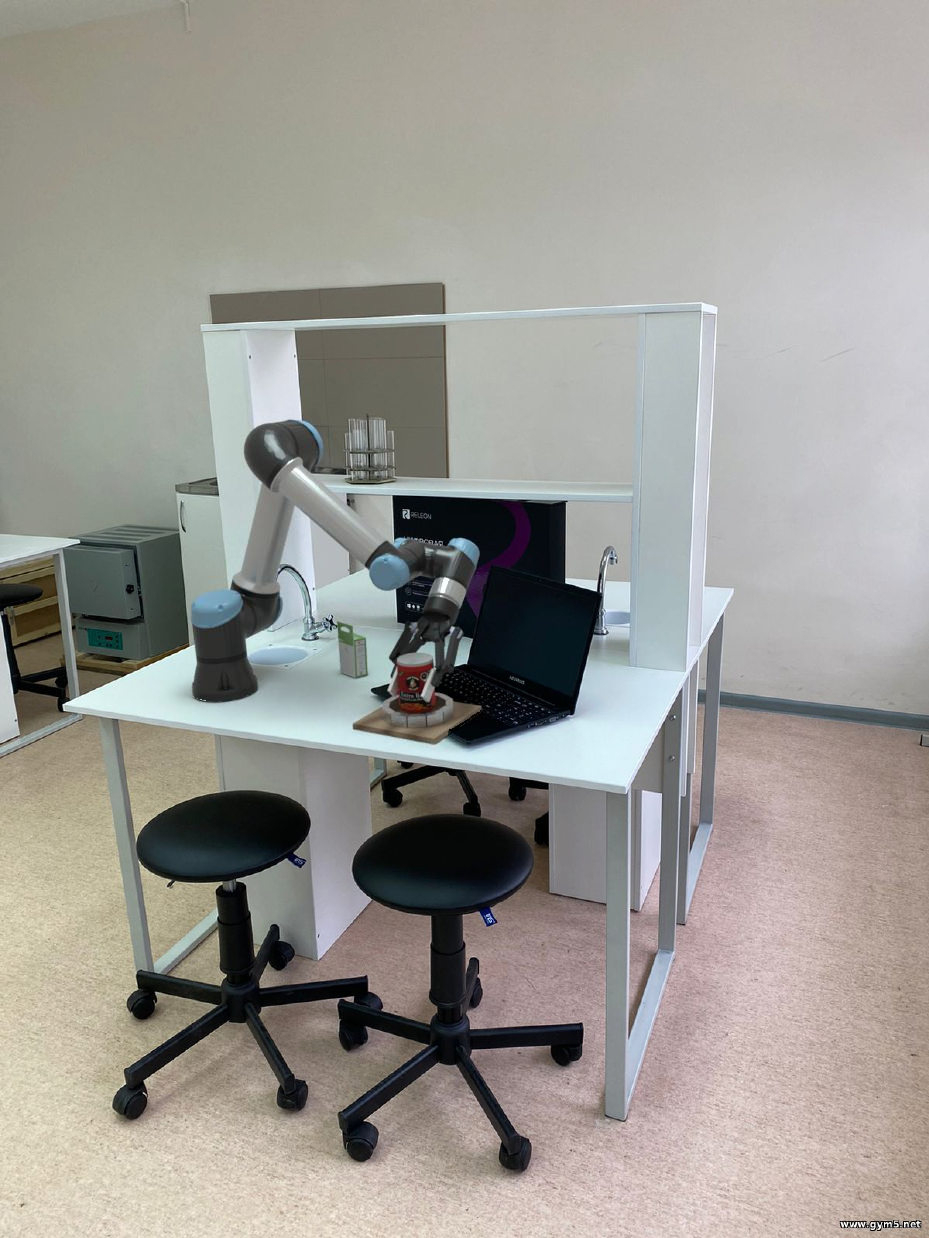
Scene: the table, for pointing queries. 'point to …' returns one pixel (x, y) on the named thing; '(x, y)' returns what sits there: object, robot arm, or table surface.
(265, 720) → the table surface
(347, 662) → the ink box
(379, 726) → the board
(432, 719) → the collar
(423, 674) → the canned food
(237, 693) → the robot arm
